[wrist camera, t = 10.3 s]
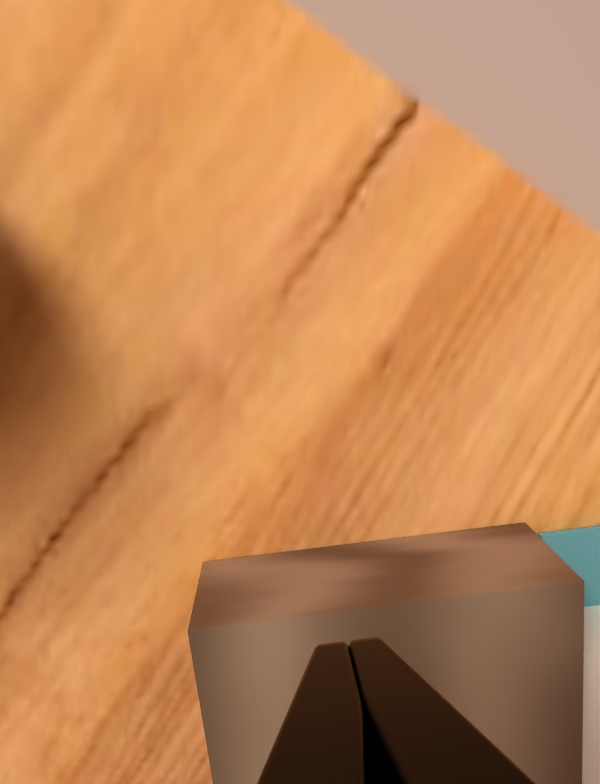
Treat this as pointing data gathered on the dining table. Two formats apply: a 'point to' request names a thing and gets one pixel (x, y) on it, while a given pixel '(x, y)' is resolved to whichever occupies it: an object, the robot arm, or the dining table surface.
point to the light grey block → (591, 696)
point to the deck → (399, 639)
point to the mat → (579, 556)
